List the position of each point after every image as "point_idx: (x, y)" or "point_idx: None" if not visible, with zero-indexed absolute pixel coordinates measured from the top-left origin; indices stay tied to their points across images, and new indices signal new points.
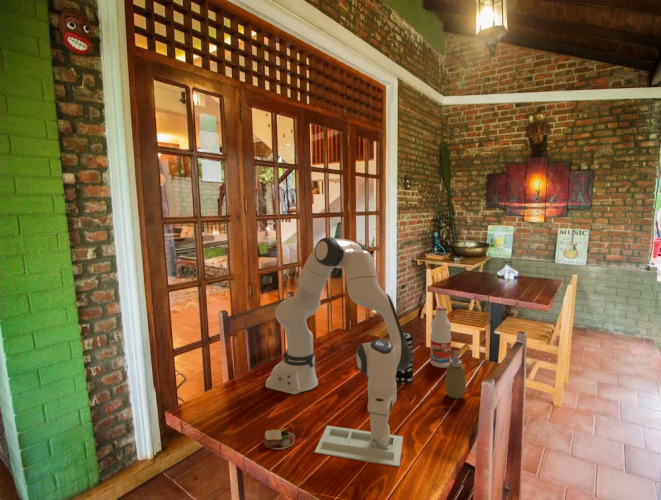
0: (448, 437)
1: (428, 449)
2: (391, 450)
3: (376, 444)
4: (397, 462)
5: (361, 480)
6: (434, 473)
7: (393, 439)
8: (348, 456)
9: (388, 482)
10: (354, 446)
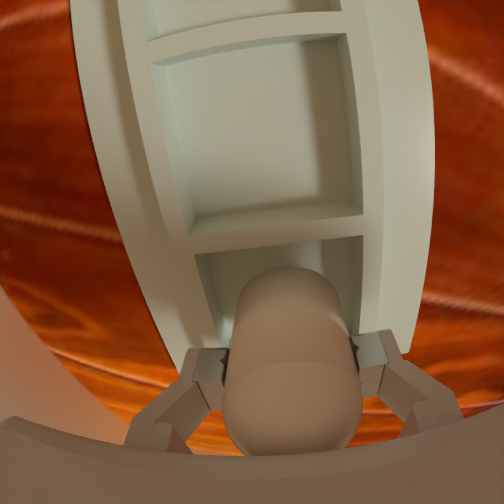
0: None
1: None
2: None
3: (250, 280)
4: None
5: (21, 248)
6: (215, 439)
7: None
8: (93, 112)
9: (80, 342)
10: (142, 129)
